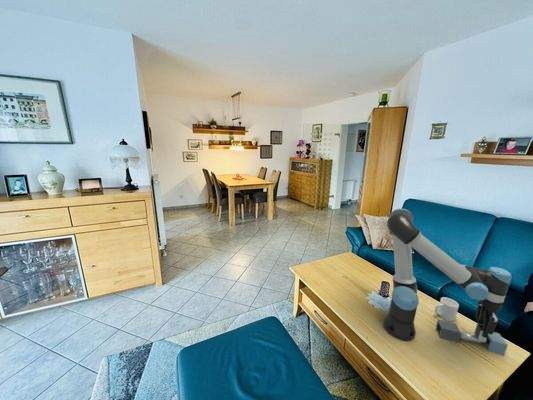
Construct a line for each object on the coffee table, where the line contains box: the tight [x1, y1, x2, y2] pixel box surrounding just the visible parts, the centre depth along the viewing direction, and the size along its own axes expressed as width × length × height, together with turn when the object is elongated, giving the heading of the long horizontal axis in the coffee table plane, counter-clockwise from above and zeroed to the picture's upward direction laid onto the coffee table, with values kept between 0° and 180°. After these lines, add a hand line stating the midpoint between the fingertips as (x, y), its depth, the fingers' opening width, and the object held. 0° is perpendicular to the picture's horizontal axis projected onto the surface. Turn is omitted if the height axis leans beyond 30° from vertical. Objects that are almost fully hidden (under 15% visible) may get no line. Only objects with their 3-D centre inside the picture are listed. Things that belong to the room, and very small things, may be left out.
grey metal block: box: [435, 319, 462, 344], centre depth 116 cm, size 8×6×6 cm
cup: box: [434, 296, 460, 322], centre depth 129 cm, size 8×12×10 cm
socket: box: [487, 331, 509, 356], centre depth 110 cm, size 6×7×6 cm
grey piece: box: [460, 324, 490, 346], centre depth 112 cm, size 15×3×9 cm, turn 69°
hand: (479, 337), depth 112 cm, fingers closed on grey piece, 3 cm apart
